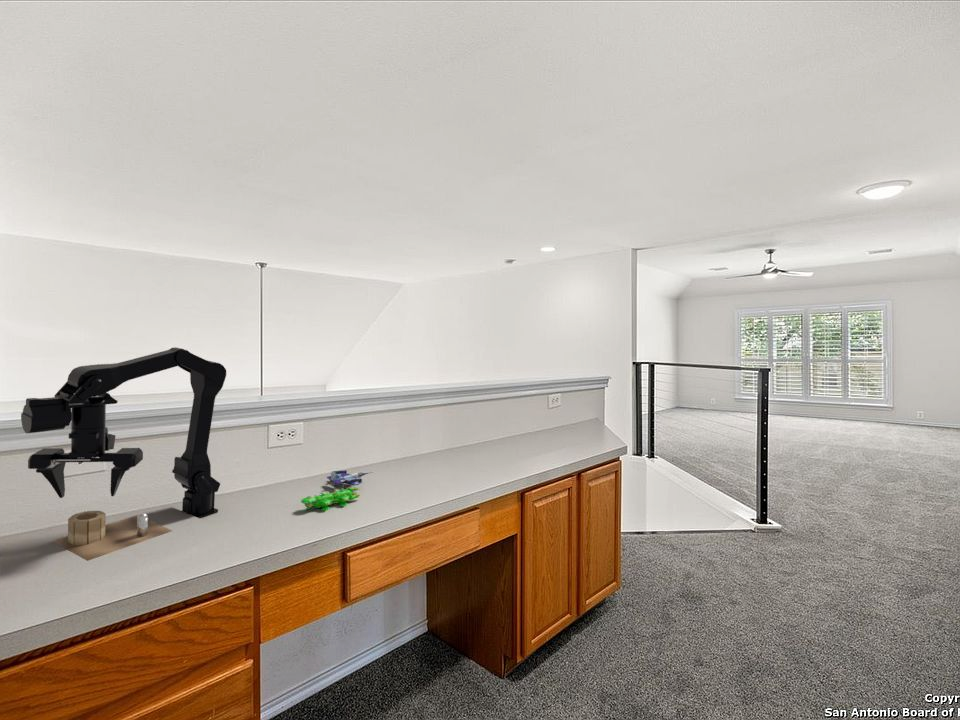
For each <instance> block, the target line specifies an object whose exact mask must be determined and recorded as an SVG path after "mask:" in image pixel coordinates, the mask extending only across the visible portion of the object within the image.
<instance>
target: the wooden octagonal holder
mask: <svg viewBox="0 0 960 720" xmlns="http://www.w3.org/2000/svg"><path fill="white" fill-rule="evenodd" d="M106 515H107V514H106V512H104V511H101V510H87V511H81V512H77V513H75V514H72V515H71V516H70V517H69V518H67V536H68V543H70V544H72V545H87V544H91V543H94V542H97V541H100V540H102V538H103V537H104V536H105V525H106V518H107V517H106Z"/></svg>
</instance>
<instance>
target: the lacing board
mask: <svg viewBox="0 0 960 720" xmlns="http://www.w3.org/2000/svg"><path fill="white" fill-rule="evenodd" d="M138 516H139V514H137V515H134V516H130V517H127V518H124V519H119V520H117V521H114V522H111V523H107V524H105V536H104V537H103V538H102V540H100V541H97V542H94V543H91V544H87V545H72V544H70V543H68V535H67V536H65V537H62V538H58V539H55V540H52V542H53V543H55V544H57V545H58V546H60V547H62V548H64V549H65V550H67V551H69V552H71V553H73V554H74V555H76V556H79V557H80V558H82V559H84V560H86V561H91V560H94V559H97V558H99V557H103V556H105V555H108V554H110V553H113V552H116V551H119V550H120V551H121V550H122V549H123V550H124V549H125V548H129V547H130V546H134V545H136V544H139V543H142V542H145V541H148V540H151V539H153V538H156V537H159V536H163V535H165V534H168V533H170V532H173V530H172V529H170V528H167V527H165V526H163V525H161V524H158V523H156V522H154V521H151V520H149V519H148V534H147V535H146V536H143V537H138V536H137V517H138Z"/></svg>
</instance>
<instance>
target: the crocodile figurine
mask: <svg viewBox="0 0 960 720" xmlns="http://www.w3.org/2000/svg"><path fill="white" fill-rule="evenodd" d="M359 490H360V489H359V488H358V487H352V486H349V487H347V488H346V489H345V488H344V489H343V488H342V489H340V490H337V491H335V490H334V491H333V492H330V493H328V492H326V493H324V492H321V493H320V494H318V495H314V496H311V495H308V496H306V497H304V498H301V500H300V503H301V504H304V506H305V509H304V510H306V511H308V510H309V509H310V508H311V507H315V509H320V508H321V509H320V510H321V511H324V512H326V511H328V510H329V509H330V507H329V506H333V505H332V504H335V503H336V504H339V506H340V507H346V506H347V505H348V504H349V503H347V502H349V501H354V500H355V499H357V498H360V496H361V494H360V493H358V492H357V491H359Z"/></svg>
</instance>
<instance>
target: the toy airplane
mask: <svg viewBox="0 0 960 720" xmlns="http://www.w3.org/2000/svg"><path fill="white" fill-rule="evenodd" d="M372 473H373V472H372V471H371V472H370V474H372ZM368 474H369V472H363V471H358V472H356V473H353V474H351V473H348V471H347V470H335V471H331V474H330V476H326V478H327V479H328V480H329V481H330V482H332V483H334V486H337V485H341V484H342V485H341V487H340V488H341V489H342V488H343V489H345V485H344V484H346V485H352V486H359V485H360V483H362V481H363V479H362V478H361V477H363V476H365V475H368ZM341 489H340V490H341Z"/></svg>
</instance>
